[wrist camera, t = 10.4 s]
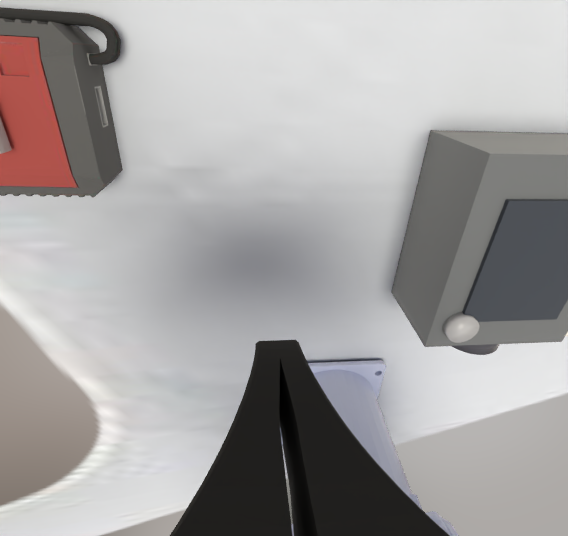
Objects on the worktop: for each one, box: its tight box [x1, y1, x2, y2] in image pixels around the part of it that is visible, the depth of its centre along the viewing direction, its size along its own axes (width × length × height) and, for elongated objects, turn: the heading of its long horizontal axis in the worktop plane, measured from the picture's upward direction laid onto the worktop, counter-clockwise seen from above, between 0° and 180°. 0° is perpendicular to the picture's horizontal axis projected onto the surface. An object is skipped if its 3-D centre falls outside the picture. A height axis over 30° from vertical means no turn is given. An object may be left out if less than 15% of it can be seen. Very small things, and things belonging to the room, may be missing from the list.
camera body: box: [392, 130, 568, 355], centre depth 18 cm, size 11×8×6 cm
